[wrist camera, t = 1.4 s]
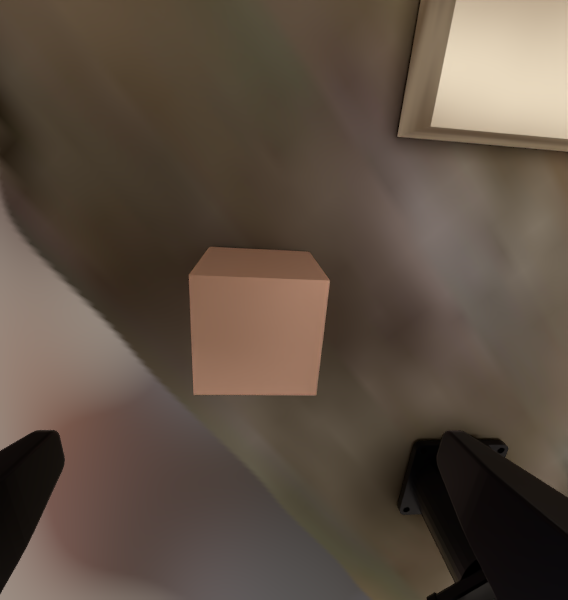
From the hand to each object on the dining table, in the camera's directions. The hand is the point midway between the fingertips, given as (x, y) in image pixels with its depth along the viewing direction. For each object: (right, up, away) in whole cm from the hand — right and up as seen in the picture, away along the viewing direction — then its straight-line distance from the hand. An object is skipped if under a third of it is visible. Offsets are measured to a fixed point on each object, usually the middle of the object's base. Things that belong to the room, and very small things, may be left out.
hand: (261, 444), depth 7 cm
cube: (-1, +4, +9) cm, 10 cm away
